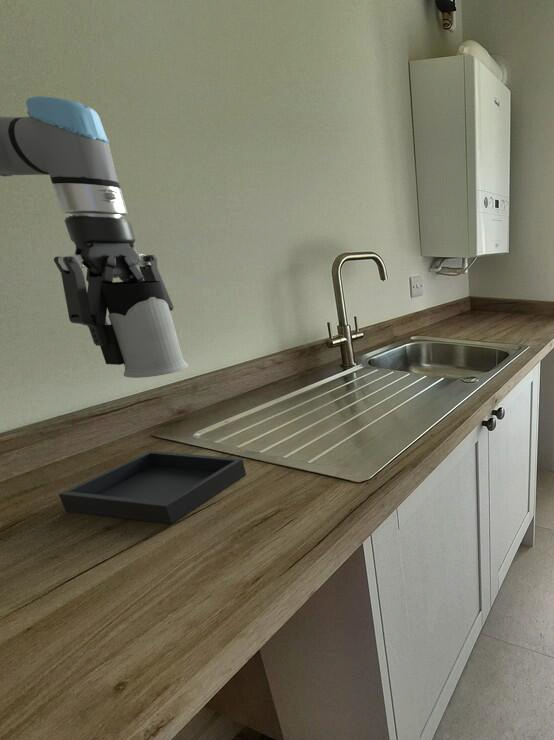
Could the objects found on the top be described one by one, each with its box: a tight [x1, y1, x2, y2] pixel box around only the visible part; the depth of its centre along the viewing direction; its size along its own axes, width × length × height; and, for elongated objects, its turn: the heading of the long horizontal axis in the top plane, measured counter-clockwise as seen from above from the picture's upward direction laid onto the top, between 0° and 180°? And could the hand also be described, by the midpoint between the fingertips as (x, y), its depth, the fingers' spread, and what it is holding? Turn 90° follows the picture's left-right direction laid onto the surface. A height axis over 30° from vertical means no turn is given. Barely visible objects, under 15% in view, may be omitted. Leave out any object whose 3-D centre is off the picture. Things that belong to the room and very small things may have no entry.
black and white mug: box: [100, 281, 189, 379], centre depth 70 cm, size 9×14×15 cm, turn 74°
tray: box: [58, 450, 247, 525], centre depth 65 cm, size 19×14×3 cm
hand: (140, 357), depth 71 cm, fingers closed on black and white mug, 7 cm apart
